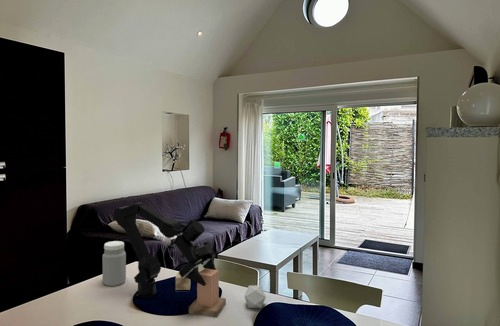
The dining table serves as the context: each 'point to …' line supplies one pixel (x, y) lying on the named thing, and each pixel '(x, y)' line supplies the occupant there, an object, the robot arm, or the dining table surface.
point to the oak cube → (182, 283)
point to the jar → (114, 263)
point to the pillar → (208, 288)
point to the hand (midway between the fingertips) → (211, 280)
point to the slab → (207, 308)
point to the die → (255, 296)
